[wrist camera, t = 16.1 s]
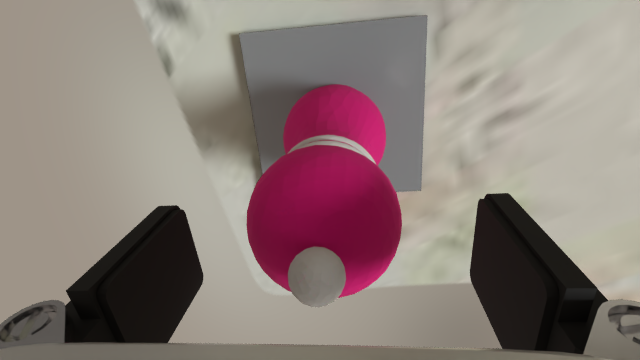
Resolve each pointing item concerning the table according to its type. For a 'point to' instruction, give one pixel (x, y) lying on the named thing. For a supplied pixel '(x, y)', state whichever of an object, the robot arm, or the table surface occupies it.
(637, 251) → the table surface
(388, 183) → the pepper mill
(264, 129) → the slate tile
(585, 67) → the table surface
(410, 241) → the table surface
